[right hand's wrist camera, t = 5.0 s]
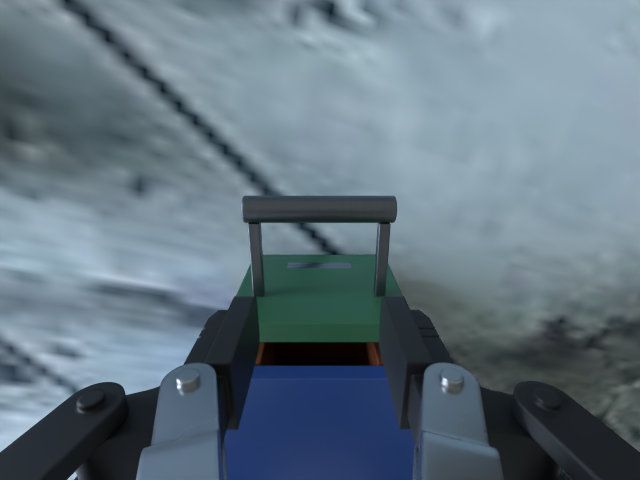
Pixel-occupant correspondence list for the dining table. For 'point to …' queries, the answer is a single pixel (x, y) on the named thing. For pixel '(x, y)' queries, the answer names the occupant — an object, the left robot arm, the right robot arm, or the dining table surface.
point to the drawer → (319, 284)
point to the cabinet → (319, 427)
